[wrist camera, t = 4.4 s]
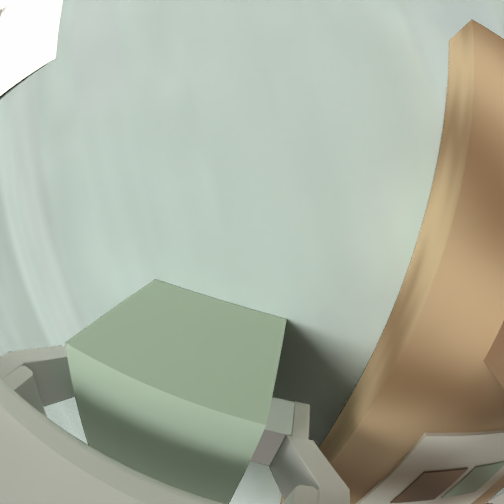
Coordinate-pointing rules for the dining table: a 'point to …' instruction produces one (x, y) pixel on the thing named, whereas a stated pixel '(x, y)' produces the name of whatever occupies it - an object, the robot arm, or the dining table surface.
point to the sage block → (177, 386)
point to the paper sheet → (26, 38)
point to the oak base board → (442, 320)
